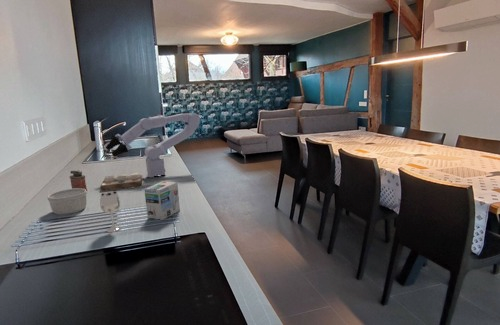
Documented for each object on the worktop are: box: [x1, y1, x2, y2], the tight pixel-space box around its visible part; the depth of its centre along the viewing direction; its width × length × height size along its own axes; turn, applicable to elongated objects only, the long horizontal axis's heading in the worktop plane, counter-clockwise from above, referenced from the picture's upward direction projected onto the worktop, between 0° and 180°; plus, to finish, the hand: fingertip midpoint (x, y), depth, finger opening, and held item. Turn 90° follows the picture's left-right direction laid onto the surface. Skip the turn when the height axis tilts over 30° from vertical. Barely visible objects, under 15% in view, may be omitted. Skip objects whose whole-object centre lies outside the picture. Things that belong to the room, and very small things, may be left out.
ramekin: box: [47, 188, 88, 216], centre depth 130 cm, size 13×13×7 cm
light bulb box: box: [143, 180, 181, 221], centre depth 119 cm, size 11×7×11 cm, turn 157°
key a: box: [129, 172, 141, 180], centre depth 167 cm, size 4×4×3 cm
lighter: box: [69, 170, 88, 192], centre depth 157 cm, size 8×3×10 cm, turn 71°
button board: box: [99, 174, 144, 192], centre depth 164 cm, size 18×15×2 cm
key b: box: [117, 173, 128, 181], centre depth 166 cm, size 4×4×3 cm
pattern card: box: [101, 179, 140, 185], centre depth 160 cm, size 17×4×1 cm, turn 106°
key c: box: [103, 175, 115, 182], centre depth 164 cm, size 4×4×3 cm
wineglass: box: [99, 190, 122, 233], centre depth 107 cm, size 6×6×12 cm
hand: (109, 151), depth 169 cm, fingers open, 7 cm apart
